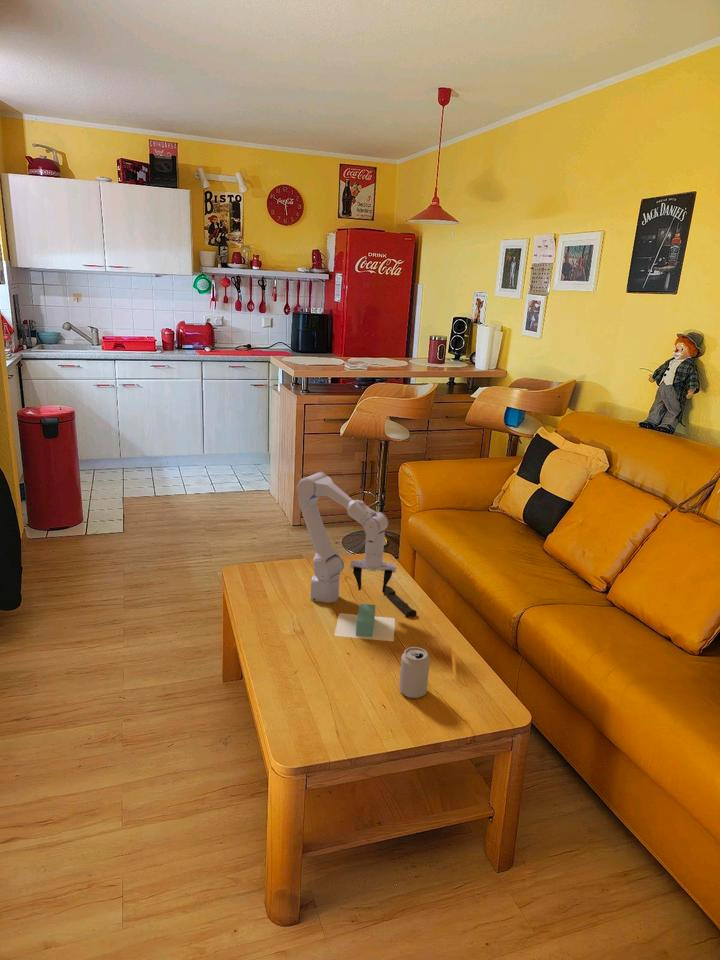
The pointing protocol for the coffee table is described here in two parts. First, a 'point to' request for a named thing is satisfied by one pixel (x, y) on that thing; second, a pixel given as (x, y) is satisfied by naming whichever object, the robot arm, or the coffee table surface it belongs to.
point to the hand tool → (399, 602)
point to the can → (414, 672)
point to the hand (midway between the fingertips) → (371, 590)
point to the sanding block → (365, 620)
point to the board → (380, 630)
